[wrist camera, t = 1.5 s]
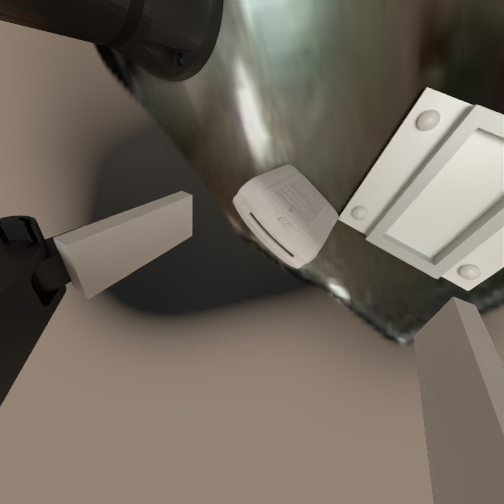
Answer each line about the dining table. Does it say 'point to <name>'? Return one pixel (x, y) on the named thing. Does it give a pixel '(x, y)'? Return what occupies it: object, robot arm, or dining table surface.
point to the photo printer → (286, 214)
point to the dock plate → (438, 191)
